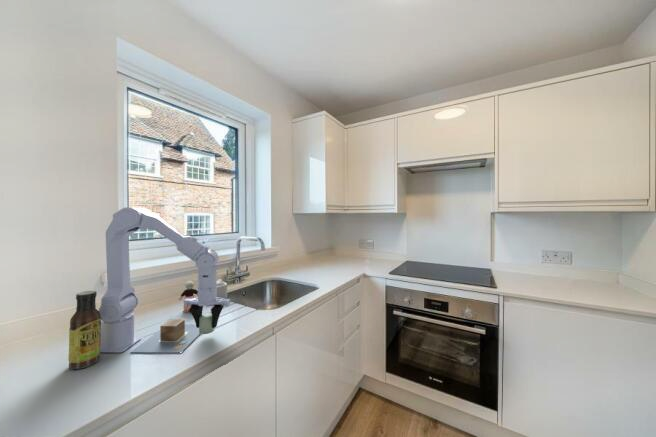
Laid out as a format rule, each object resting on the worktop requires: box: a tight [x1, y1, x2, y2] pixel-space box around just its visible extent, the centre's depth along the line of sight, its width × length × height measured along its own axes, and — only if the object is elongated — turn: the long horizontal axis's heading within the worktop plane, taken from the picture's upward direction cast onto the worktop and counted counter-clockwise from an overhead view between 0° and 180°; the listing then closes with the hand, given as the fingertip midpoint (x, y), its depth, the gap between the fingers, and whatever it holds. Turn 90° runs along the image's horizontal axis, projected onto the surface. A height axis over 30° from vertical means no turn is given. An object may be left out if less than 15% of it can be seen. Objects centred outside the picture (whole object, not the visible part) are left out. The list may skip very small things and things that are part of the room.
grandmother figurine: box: [178, 280, 198, 313], centre depth 105 cm, size 8×4×13 cm, turn 143°
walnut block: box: [159, 318, 186, 341], centre depth 82 cm, size 5×5×5 cm
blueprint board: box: [130, 323, 201, 354], centre depth 82 cm, size 15×18×1 cm
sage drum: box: [199, 312, 215, 335], centre depth 83 cm, size 5×5×5 cm
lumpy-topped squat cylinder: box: [217, 278, 228, 299], centre depth 120 cm, size 10×13×9 cm
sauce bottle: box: [68, 290, 101, 370], centre depth 68 cm, size 6×6×20 cm
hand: (206, 326), depth 83 cm, fingers closed on sage drum, 5 cm apart
